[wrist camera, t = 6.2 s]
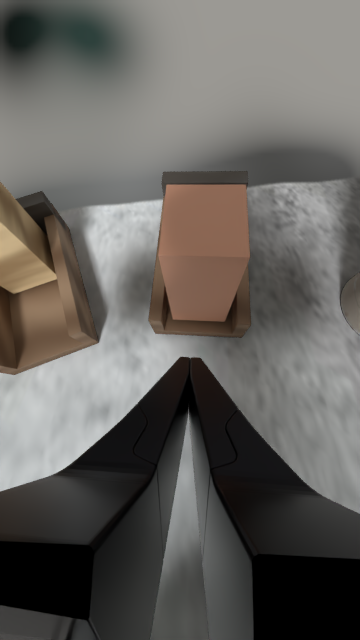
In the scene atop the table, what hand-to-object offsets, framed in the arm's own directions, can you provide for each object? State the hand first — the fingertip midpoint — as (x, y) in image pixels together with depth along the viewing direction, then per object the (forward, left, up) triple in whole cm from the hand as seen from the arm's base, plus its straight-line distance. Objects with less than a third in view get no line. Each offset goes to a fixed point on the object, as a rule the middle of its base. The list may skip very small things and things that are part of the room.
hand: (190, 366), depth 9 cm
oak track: (+18, +1, -10) cm, 21 cm away
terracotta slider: (+4, -7, -9) cm, 12 cm away
